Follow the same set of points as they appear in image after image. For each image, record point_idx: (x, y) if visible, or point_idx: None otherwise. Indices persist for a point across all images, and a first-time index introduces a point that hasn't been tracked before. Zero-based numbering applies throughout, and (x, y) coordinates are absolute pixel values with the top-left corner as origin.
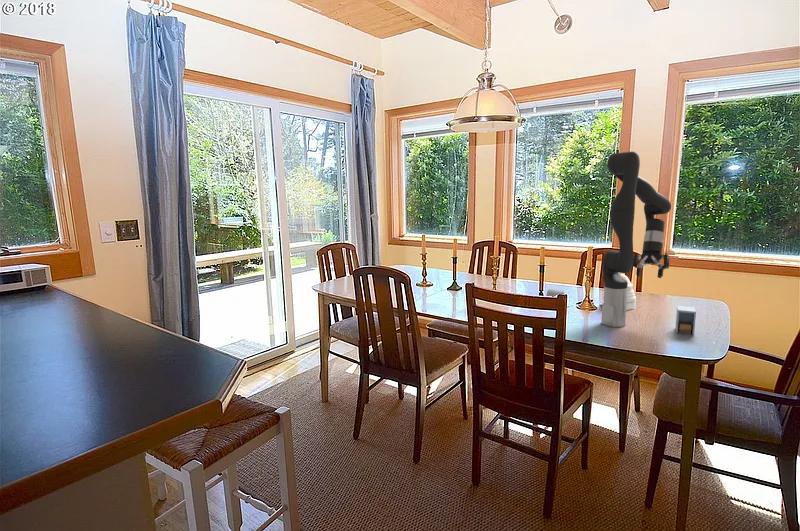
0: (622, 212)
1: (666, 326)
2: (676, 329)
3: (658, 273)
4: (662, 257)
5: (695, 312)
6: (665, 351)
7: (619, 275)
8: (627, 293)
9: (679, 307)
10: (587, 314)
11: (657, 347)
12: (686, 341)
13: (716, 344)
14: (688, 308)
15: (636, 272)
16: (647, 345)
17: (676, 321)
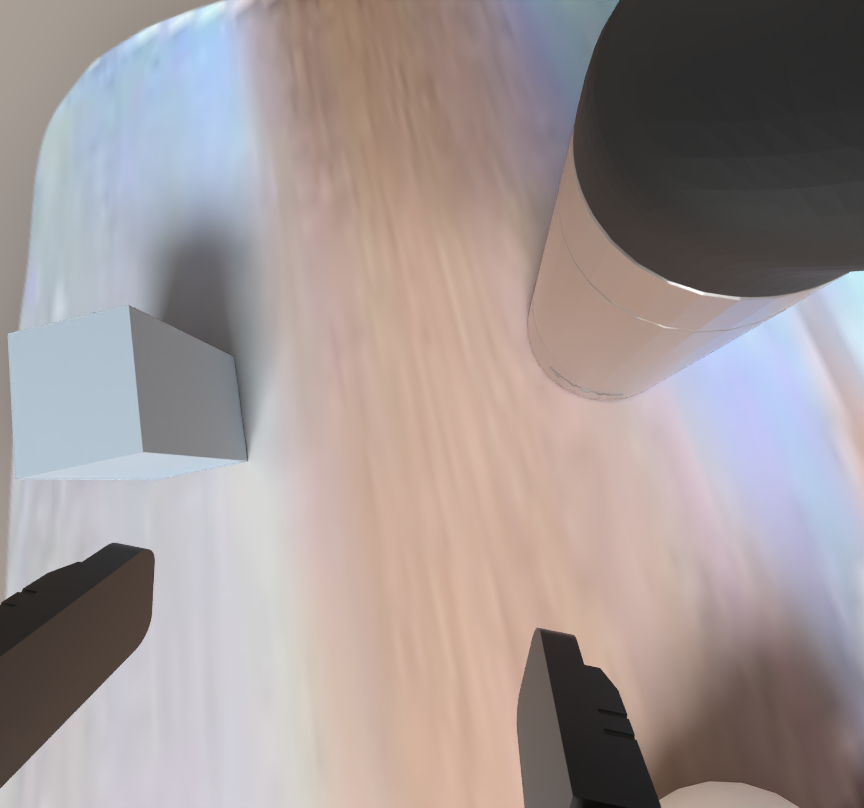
0: None
1: (300, 470)
2: (220, 350)
3: (80, 586)
4: None
5: (17, 333)
6: (246, 35)
7: (856, 166)
8: None
9: (122, 402)
10: None
11: (286, 64)
12: (175, 241)
13: (48, 281)
14: (58, 408)
15: (627, 723)
16: (332, 62)
17: (206, 398)
